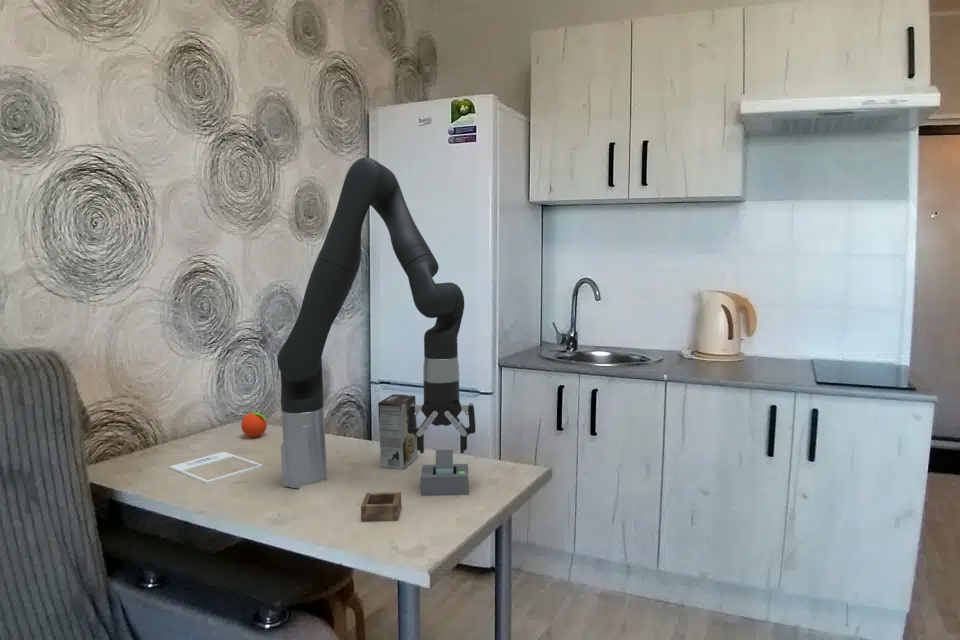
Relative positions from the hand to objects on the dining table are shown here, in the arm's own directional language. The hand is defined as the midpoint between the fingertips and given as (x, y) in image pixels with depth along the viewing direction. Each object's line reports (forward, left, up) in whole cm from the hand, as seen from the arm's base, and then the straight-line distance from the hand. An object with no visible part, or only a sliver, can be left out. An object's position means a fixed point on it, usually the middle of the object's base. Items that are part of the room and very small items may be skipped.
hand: (442, 452), depth 148 cm
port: (0, +1, -9) cm, 9 cm away
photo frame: (-57, +22, -10) cm, 61 cm away
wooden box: (-12, -12, -9) cm, 19 cm away
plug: (0, +1, -8) cm, 8 cm away
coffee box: (-12, +22, -9) cm, 26 cm away
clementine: (-55, +48, -10) cm, 73 cm away
